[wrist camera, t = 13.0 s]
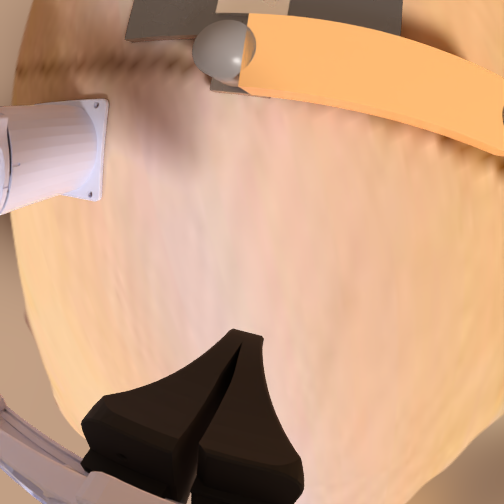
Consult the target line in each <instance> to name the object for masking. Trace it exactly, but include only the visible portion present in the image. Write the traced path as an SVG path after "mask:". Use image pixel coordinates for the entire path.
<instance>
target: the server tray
mask: <svg viewBox="0 0 504 504" xmlns="http://www.w3.org/2000/svg"><path fill="white" fill-rule="evenodd" d="M402 4H403V0H134V4H133V8H132V11H131V15H130V19H129V23H128V27H127V32H126V36H125V40H127V41H129V42H132V43H133V42H144V41H157V40H177V39H196V37H197V36H198V34H199V33H200V32H201V31H202V30H203V29H204V28H205V27H207V26H208V25H210V24H212V23H214V22H217V21H221V20H235V21H239V22H241V23H243V24H245V25H246V26H247V23H248V17H249V13H255V14H274V15H287V16H297V17H306V18H314V19H321V20H328V21H334V22H340V23H345V24H351V25H356V26H360V27H365V28H369V29H374V30H378V31H382V32H386V33H389V34H393V35H397V36H400V34H401V21H402ZM210 90H211V91H213V92H218V93H229V94H239V95H248V96H256V97H263V98H271V97H267V96H257V95H251V94H249V93H248V92H246V91H245V90H243V89H242V88H240V87H232V86H228V85H226V84H224V83H222V82H220V81H218V80H216V79H214V78H213V77H212V80H211V86H210Z"/></svg>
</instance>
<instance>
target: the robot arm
mask: <svg viewBox="0 0 504 504" xmlns="http://www.w3.org/2000/svg"><path fill="white" fill-rule="evenodd" d="M98 103H99V106H98V108H97V104H98ZM108 108H109V102H108V100H107V99H85V100H70V101H59V102H49V103H40V104H34V105H20V106H0V215H2V214H5V213H8V212H11V211H13V210H16V209H19V208H22V207H24V206H27V205H30V204H33V203H36V202H39V201H42V200H45V199H48V198H51V197H54V196H57V195H64V196H70V197H75V198H80V199H85V200H90V201H99V200H100V199H101V197H102V178H103V160H104V146H105V135H106V125H107V116H108ZM91 192H92V196H91ZM263 340H264V338H263V337H262V336H260V335H256V334H252V333H248V332H244V331H240V330H236V329H231V330H230V331H229V332H228V333H227V334H226V335H225V336H224V337H223V338H222V339H221V340H220V341H218V342H217V343H216V344H215V345H214V346H213V347H212V348H210V349H209V350H208V351H207V352H205V353H204V354H203V355H202V356H200V357H199V358H197V359H196V360H194V361H193V362H192V363H190V364H189V365H187V366H185V367H184V368H182V369H180V370H179V371H177V372H175V373H173V374H171V375H169V376H167V377H165V378H163V379H161V380H159V381H156V382H154V383H151V384H148V385H146V386H143V387H140V388H136V389H133V390H130V391H126V392H121V393H116V394H111V395H105V396H103V397H102V398H101V399H100V400H99V401H98V402H97V403H96V404H95V405H94V406H93V407H92V409H91V410H90V411H89V412H88V414H87V415H86V416H85V417H84V419H83V420H82V423H81V426H82V430H83V433H84V435H85V438H86V440H87V442H88V444H89V446H90V450H89V451H88V453H87V454H86V455H85V457H84V458H81V457H79V456H77V455H76V454H74V453H73V452H71V451H69V450H68V449H66V448H64V447H63V446H61V445H60V444H58V443H57V442H55V441H54V440H52V439H51V438H49V437H48V436H46V435H45V434H43V433H42V432H40V431H39V430H38V429H36V428H35V427H33V426H32V425H31V424H29V423H28V422H27V421H25V420H24V419H23V418H21V417H20V416H19V415H18V414H16V413H15V412H14V411H12V410H11V409H10V408H9V407H8V406H7V404H6V402H5V400H4V398H3V397H2V395H1V394H0V468H1V469H2V470H3V471H4V472H5V473H6V474H7V475H8V476H10V477H11V478H12V479H13V480H14V481H15V482H16V483H18V484H19V485H20V486H21V487H22V488H24V489H25V490H26V491H27V492H29V493H30V494H31V495H32V496H33V497H35V498H36V499H37V500H39V501H40V502H41V503H43V504H186V503H187V500H188V497H189V495H190V492H191V494H192V495H191V497H192V498H191V504H294V503H295V502H296V500H297V499H298V498H299V497H300V496H301V494H302V492H303V490H304V473H303V466H302V461H301V458H300V456H299V455H298V453H297V452H296V450H295V449H294V447H293V446H292V444H291V443H290V441H289V439H288V437H287V436H286V434H285V432H284V430H283V428H282V426H281V424H280V422H279V419H278V417H277V415H276V413H275V410H274V407H273V405H272V402H271V399H270V395H269V392H268V388H267V384H266V379H265V374H264V367H263V356H262V346H263Z"/></svg>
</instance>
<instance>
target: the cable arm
mask: <svg viewBox="0 0 504 504" xmlns="http://www.w3.org/2000/svg"><path fill="white" fill-rule="evenodd" d="M192 55H193V60H194V62H195V64H196V66H197V67H198V68H199V69H200V70H201V71H202V72H203V73H205V74H207V75H209V76H211V77H213V78H214V79H216V80H218V81H220V82H222V83H224V84H226V85H228V86H232V87H240V88H242V89H243V90H245V91H246V92H248V93H249V94H251V95H257V96H267V97H275V98H283V99H291V100H298V101H304V102H311V103H317V104H322V105H328V106H333V107H338V108H343V109H348V110H353V111H358V112H362V113H366V114H371V115H375V116H379V117H383V118H387V119H391V120H394V121H398V122H402V123H405V124H409V125H412V126H415V127H419V128H422V129H425V130H428V131H432V132H435V133H438V134H441V135H444V136H447V137H449V138H452V139H455V140H458V141H461V142H463V143H466V144H469V145H471V146H474V147H476V148H479V149H481V150H484V151H486V152H489V153H491V154H493V155H498V156H504V78H503V77H501V76H499V75H497V74H495V73H493V72H491V71H489V70H487V69H485V68H483V67H481V66H478V65H476V64H474V63H472V62H470V61H467V60H465V59H463V58H460V57H458V56H455V55H453V54H450V53H448V52H445V51H442V50H440V49H437V48H434V47H431V46H429V45H426V44H423V43H420V42H417V41H413V40H410V39H407V38H404V37H400V36H397V35H393V34H389V33H386V32H382V31H378V30H374V29H369V28H365V27H360V26H356V25H351V24H345V23H340V22H334V21H328V20H321V19H314V18H306V17H297V16H287V15H274V14H255V13H249V17H248V23H247V26H246V25H245V24H243V23H241V22H239V21H235V20H221V21H217V22H214V23H212V24H210V25H208V26H207V27H205V28H204V29H203V30H202V31H201V32H200V33H199V34H198V36H197V37H196V39H195V41H194V44H193V49H192Z"/></svg>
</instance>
